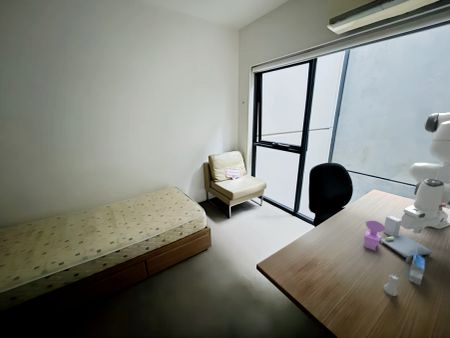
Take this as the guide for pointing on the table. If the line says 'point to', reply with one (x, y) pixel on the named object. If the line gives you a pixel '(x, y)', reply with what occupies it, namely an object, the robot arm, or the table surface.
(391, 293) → the rook chess piece
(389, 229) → the skincare box
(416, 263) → the label tape box
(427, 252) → the levelling deck
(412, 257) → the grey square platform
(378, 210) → the table surface
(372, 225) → the toy chair
